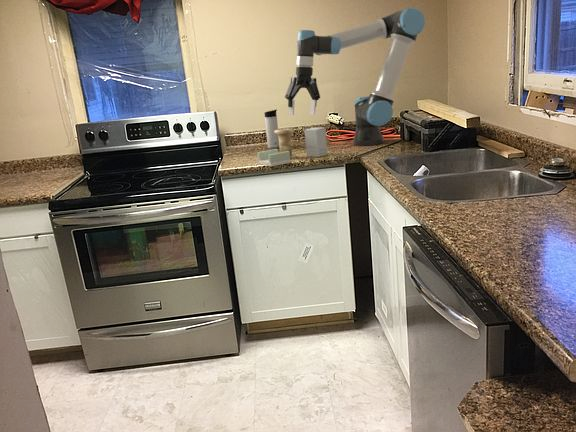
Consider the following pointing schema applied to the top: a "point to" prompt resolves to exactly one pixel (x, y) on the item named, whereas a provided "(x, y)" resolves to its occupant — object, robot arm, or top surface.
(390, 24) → the robot arm
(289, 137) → the spool
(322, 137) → the supplement box
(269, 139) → the travel mug
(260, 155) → the green and white block
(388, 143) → the top surface
